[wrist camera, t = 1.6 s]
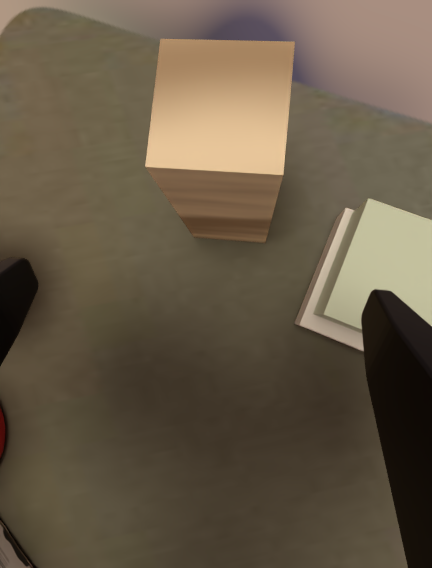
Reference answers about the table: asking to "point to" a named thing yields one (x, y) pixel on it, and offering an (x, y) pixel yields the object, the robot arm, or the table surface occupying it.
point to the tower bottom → (316, 286)
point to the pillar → (221, 133)
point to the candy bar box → (11, 551)
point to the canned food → (2, 432)
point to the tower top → (379, 264)
